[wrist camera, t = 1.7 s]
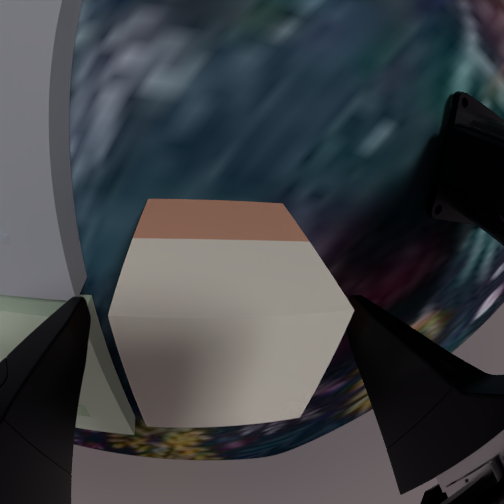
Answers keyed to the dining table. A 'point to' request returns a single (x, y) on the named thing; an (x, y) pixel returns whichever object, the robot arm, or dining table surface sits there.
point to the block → (224, 314)
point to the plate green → (96, 369)
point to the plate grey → (37, 151)
